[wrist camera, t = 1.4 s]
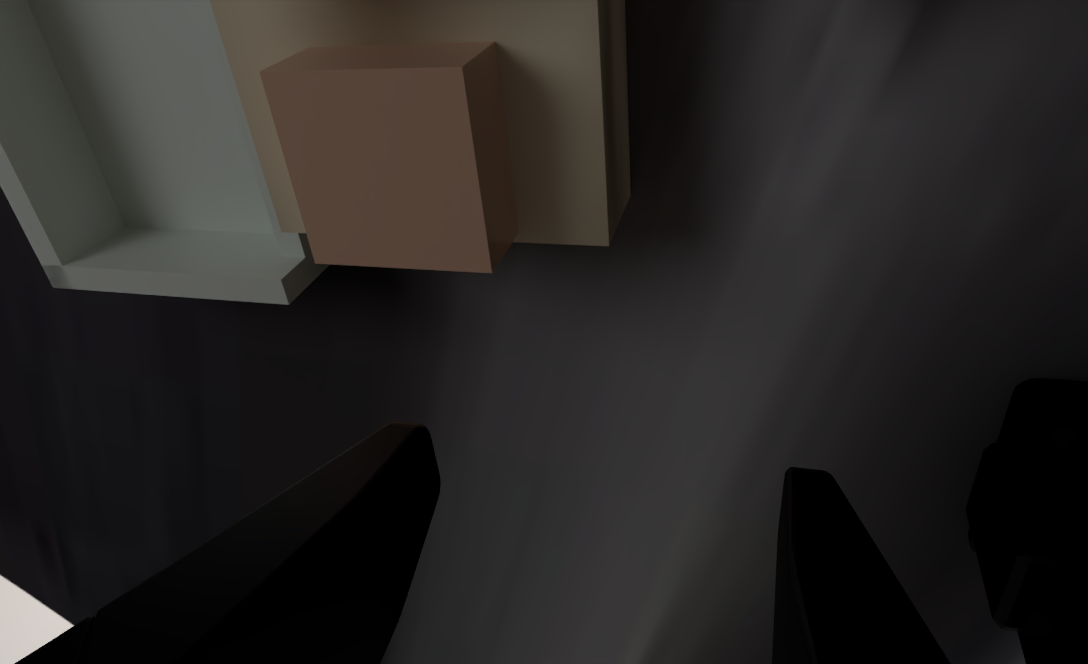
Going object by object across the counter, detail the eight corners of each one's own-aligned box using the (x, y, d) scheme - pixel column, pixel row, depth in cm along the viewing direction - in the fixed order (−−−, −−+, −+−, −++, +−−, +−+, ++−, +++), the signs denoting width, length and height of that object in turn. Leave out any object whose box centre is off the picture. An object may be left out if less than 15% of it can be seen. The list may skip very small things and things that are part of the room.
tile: (494, 41, 16) (462, 67, 14) (517, 233, 18) (492, 273, 17) (308, 47, 17) (259, 71, 16) (353, 226, 20) (315, 263, 18)
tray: (179, -399, 16) (47, -444, 13) (347, 247, 24) (288, 304, 21) (-114, -332, 18) (-281, -359, 15) (132, 236, 26) (53, 287, 23)
